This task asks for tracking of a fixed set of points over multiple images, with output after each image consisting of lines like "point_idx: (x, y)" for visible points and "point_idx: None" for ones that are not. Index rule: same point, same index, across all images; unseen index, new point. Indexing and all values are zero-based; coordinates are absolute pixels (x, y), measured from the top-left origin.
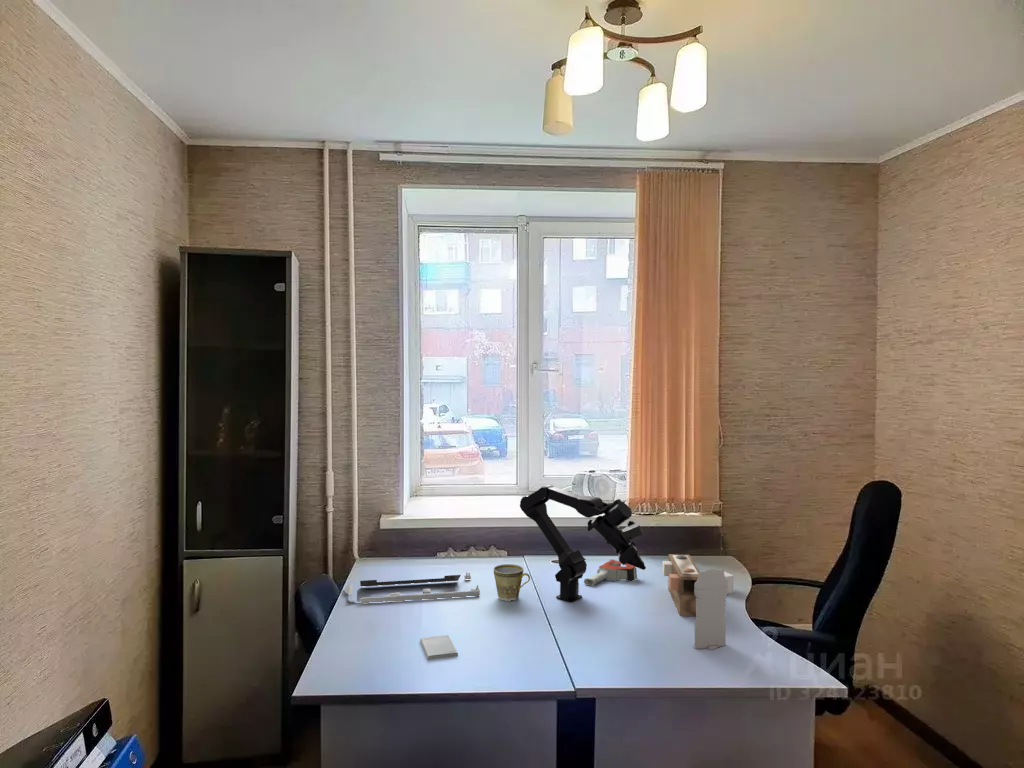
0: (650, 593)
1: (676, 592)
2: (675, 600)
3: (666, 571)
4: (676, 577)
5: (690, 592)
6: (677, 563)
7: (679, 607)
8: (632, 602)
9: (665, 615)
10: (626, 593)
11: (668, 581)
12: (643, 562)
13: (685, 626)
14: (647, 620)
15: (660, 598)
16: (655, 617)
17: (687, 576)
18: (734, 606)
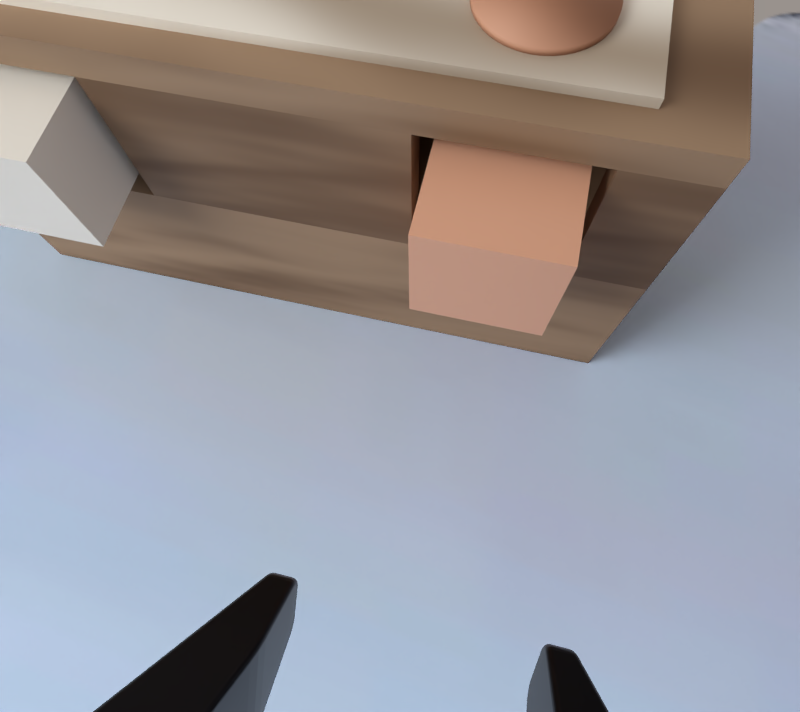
0: (86, 410)
1: None
2: (389, 303)
3: (87, 196)
4: (568, 196)
5: None
6: (218, 24)
7: (589, 337)
8: None
9: (574, 465)
10: (11, 628)
11: None
12: (280, 603)
13: (795, 398)
14: (686, 668)
15: (213, 372)
16: (616, 566)
17: (746, 82)
18: None
